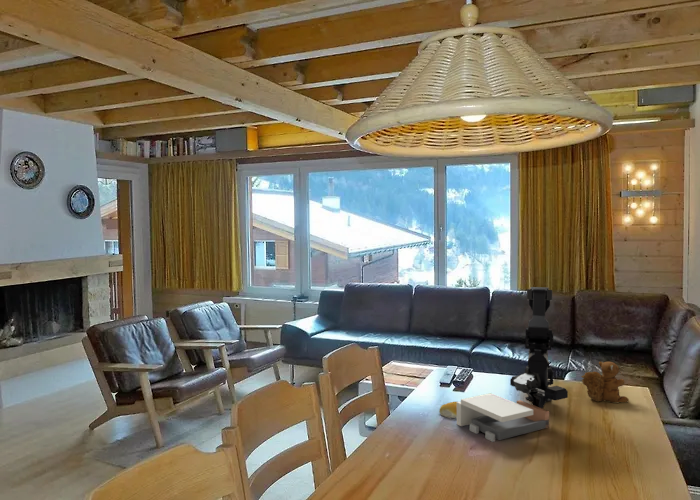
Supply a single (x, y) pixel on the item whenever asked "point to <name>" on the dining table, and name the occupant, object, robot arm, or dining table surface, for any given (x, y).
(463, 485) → the dining table surface
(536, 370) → the robot arm
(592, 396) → the stuffed squirrel
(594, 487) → the dining table surface
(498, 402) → the overhang shelf
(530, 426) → the tray
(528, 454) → the dining table surface
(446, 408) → the bread roll
